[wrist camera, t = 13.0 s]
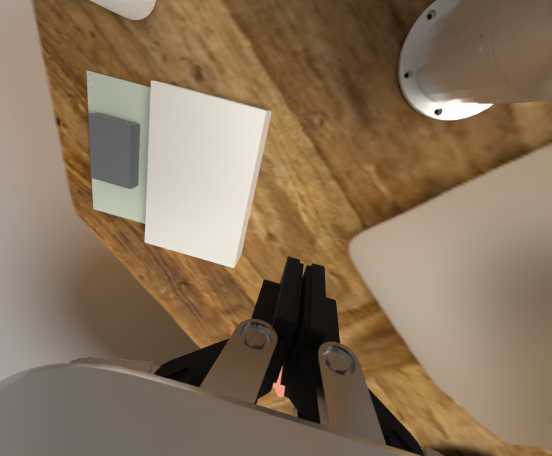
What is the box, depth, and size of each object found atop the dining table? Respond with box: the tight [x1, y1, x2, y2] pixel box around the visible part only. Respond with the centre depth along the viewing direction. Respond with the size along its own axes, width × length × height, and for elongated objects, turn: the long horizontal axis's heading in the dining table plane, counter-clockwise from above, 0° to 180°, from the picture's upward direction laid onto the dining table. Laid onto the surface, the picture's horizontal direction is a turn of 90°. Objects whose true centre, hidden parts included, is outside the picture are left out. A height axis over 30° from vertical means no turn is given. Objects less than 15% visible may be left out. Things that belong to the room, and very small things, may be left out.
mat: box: [86, 70, 151, 224], centre depth 40 cm, size 20×10×1 cm, turn 166°
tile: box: [88, 113, 140, 189], centre depth 38 cm, size 9×6×2 cm, turn 166°
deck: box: [145, 80, 272, 268], centre depth 38 cm, size 22×14×4 cm, turn 166°
